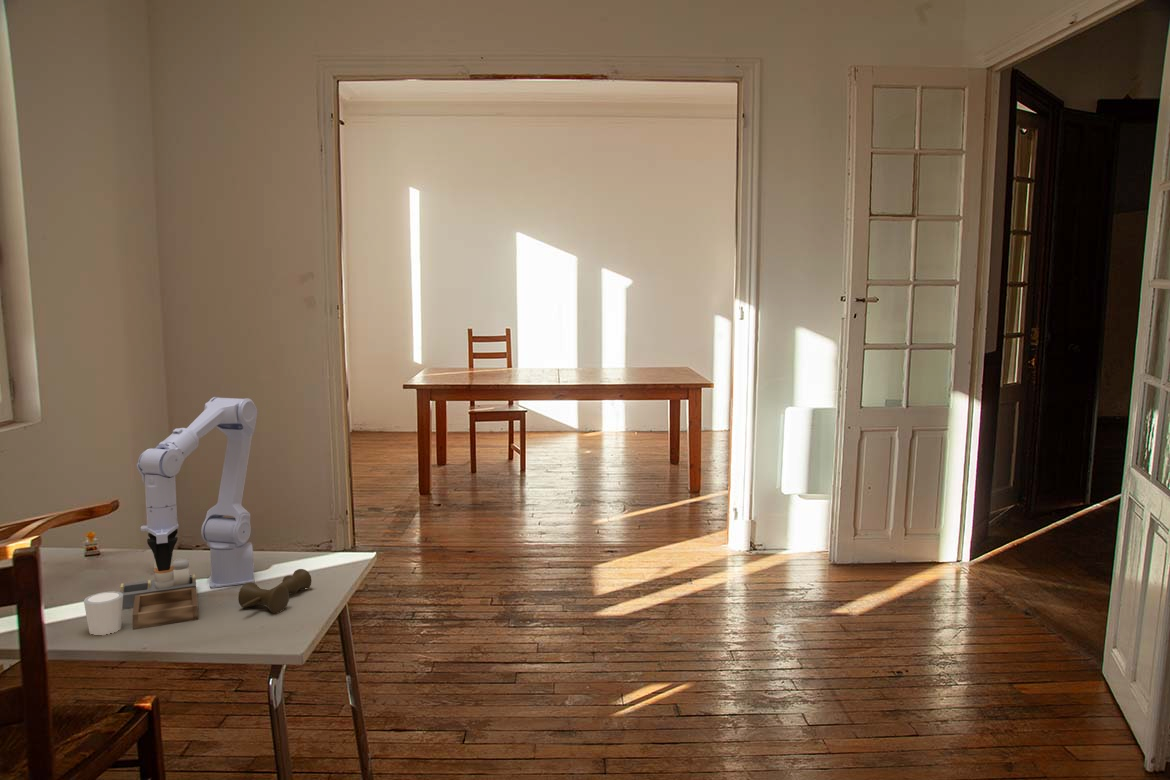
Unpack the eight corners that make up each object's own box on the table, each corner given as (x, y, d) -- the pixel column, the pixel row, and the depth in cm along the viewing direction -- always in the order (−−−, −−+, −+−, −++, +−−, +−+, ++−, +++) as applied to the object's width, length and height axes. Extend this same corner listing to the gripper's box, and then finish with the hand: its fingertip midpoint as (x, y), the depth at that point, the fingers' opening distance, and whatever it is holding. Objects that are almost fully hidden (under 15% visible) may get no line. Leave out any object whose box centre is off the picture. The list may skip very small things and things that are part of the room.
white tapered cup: (96, 639, 159) (94, 605, 158) (79, 631, 162) (76, 598, 161) (131, 628, 164) (130, 595, 164) (113, 620, 168) (111, 588, 167)
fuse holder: (195, 586, 188) (195, 570, 187) (196, 598, 181) (195, 581, 180) (122, 596, 181) (121, 579, 180) (120, 609, 174) (119, 591, 173)
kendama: (321, 593, 187) (261, 623, 168) (287, 588, 190) (224, 617, 171) (321, 568, 186) (260, 595, 167) (286, 564, 189) (223, 590, 171)
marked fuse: (174, 582, 173) (172, 546, 173) (174, 587, 170) (172, 551, 169) (155, 584, 172) (153, 548, 171) (154, 590, 169) (152, 553, 168)
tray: (196, 599, 180) (196, 587, 179) (198, 619, 169) (197, 605, 169) (135, 608, 174) (134, 595, 174) (133, 629, 164) (132, 615, 163)
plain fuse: (190, 590, 185) (188, 557, 184) (190, 596, 182) (189, 562, 181) (172, 593, 184) (171, 559, 183) (172, 598, 180) (171, 564, 180)
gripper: (141, 498, 174) (144, 559, 175) (138, 515, 161) (141, 580, 162) (177, 495, 177) (180, 555, 178) (177, 511, 164) (180, 575, 166)
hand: (164, 567), depth 171 cm, fingers closed on marked fuse, 4 cm apart
